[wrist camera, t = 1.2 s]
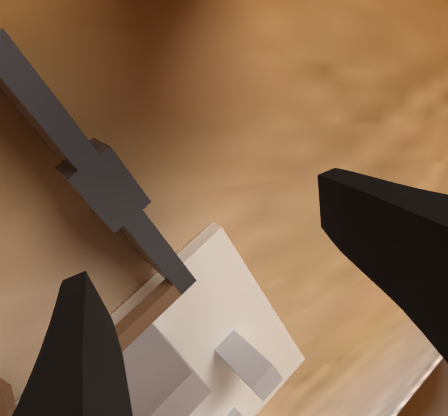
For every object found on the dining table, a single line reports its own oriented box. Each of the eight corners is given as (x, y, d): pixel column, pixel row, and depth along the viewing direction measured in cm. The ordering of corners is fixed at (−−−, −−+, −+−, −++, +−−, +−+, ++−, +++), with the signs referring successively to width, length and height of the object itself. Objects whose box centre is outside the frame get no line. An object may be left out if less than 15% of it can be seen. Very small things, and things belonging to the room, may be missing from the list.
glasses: (-7, 400, 20) (5, 464, 17) (-321, 221, 13) (-402, 276, 9) (167, 244, 23) (204, 273, 20) (-1, 26, 16) (16, 19, 13)
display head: (150, 516, 29) (193, 606, 25) (-18, 432, 20) (-1, 550, 15) (296, 352, 34) (356, 401, 29) (212, 221, 25) (281, 262, 20)
